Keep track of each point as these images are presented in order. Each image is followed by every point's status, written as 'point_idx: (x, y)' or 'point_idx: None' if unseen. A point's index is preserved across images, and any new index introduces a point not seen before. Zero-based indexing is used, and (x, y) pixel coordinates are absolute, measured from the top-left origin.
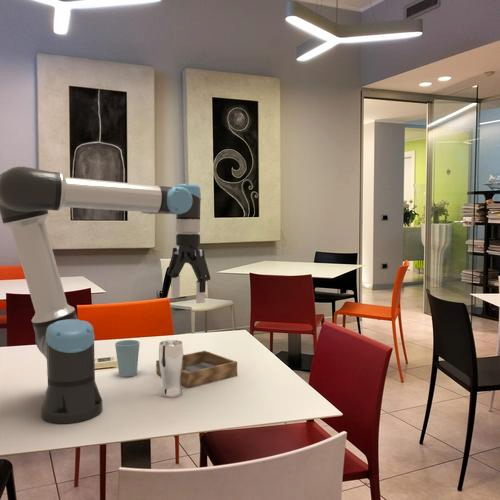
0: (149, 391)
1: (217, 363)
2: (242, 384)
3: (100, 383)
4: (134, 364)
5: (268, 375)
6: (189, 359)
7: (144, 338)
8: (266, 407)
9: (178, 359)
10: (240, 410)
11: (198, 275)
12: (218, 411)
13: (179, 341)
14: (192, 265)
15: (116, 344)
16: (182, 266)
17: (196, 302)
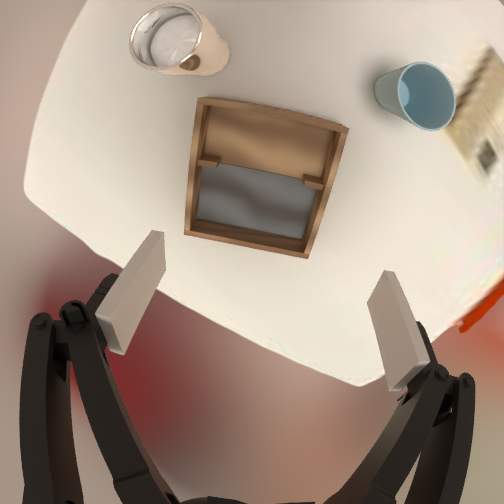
0: (259, 36)
1: (252, 233)
2: (148, 188)
3: (387, 23)
4: (381, 90)
5: None
6: (314, 210)
7: (482, 290)
8: (60, 141)
9: (147, 45)
10: (72, 104)
11: (70, 354)
12: (88, 74)
13: (159, 67)
14: (123, 456)
15: (446, 83)
16: (363, 463)
17: (159, 233)
